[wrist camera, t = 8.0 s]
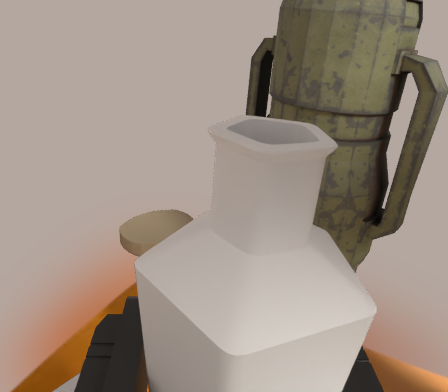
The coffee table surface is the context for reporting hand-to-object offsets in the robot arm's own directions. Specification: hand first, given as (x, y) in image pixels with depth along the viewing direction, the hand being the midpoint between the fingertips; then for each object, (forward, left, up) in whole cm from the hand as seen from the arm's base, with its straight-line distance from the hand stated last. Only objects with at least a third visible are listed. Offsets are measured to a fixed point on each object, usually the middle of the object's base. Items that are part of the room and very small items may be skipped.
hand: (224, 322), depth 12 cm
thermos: (-7, -14, -23) cm, 28 cm away
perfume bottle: (0, +3, -9) cm, 9 cm away
